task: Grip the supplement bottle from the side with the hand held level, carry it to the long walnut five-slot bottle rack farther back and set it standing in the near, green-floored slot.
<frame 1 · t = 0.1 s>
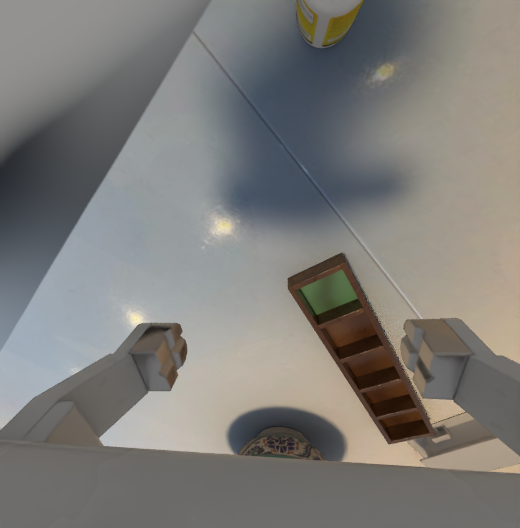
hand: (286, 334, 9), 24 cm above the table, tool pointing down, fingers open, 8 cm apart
supplement bottle: (325, 13, 23), on the table
bowl: (282, 440, 53), on the table
rack: (366, 356, 40), on the table
grey hinged lid tray: (479, 435, 45), on the table
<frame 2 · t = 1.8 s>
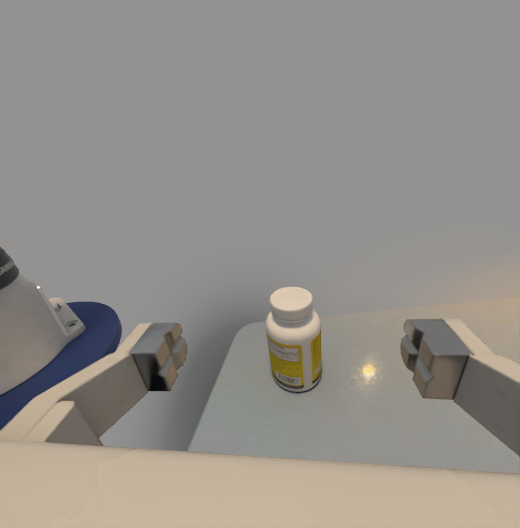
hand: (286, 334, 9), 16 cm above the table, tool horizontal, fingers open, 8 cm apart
supplement bottle: (296, 372, 27), on the table
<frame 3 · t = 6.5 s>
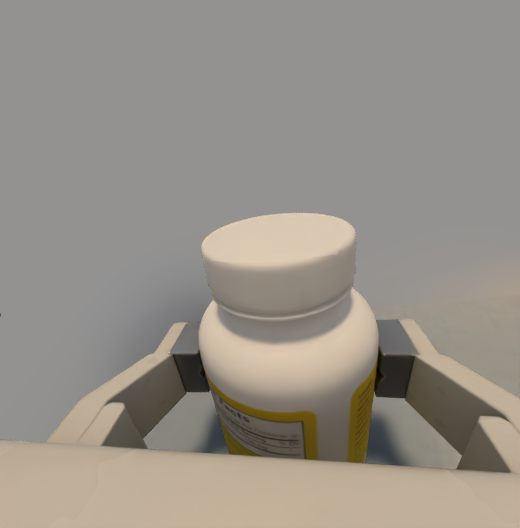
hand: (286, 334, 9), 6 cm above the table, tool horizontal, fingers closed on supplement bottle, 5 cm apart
supplement bottle: (295, 450, 11), on the table, touching gripper
when the fingers open (6 cm above the table, at t = 16.4 s): supplement bottle stays where it is, resting on rack.
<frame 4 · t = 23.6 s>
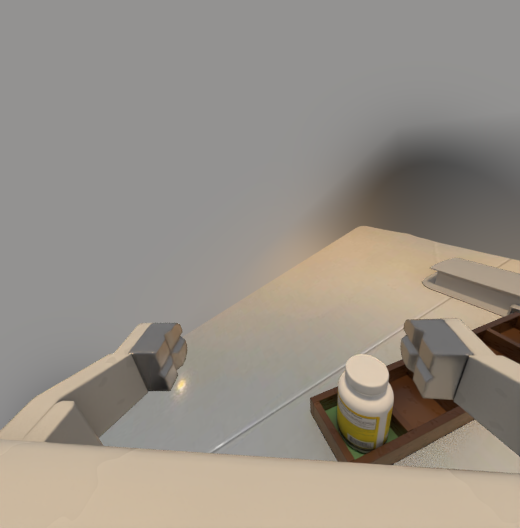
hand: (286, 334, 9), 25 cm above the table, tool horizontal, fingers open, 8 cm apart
supplement bottle: (360, 430, 29), resting on rack
rack: (451, 385, 33), on the table
grey hinged lid tray: (497, 293, 49), on the table
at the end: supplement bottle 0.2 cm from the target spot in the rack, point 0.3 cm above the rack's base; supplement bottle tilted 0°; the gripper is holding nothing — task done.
